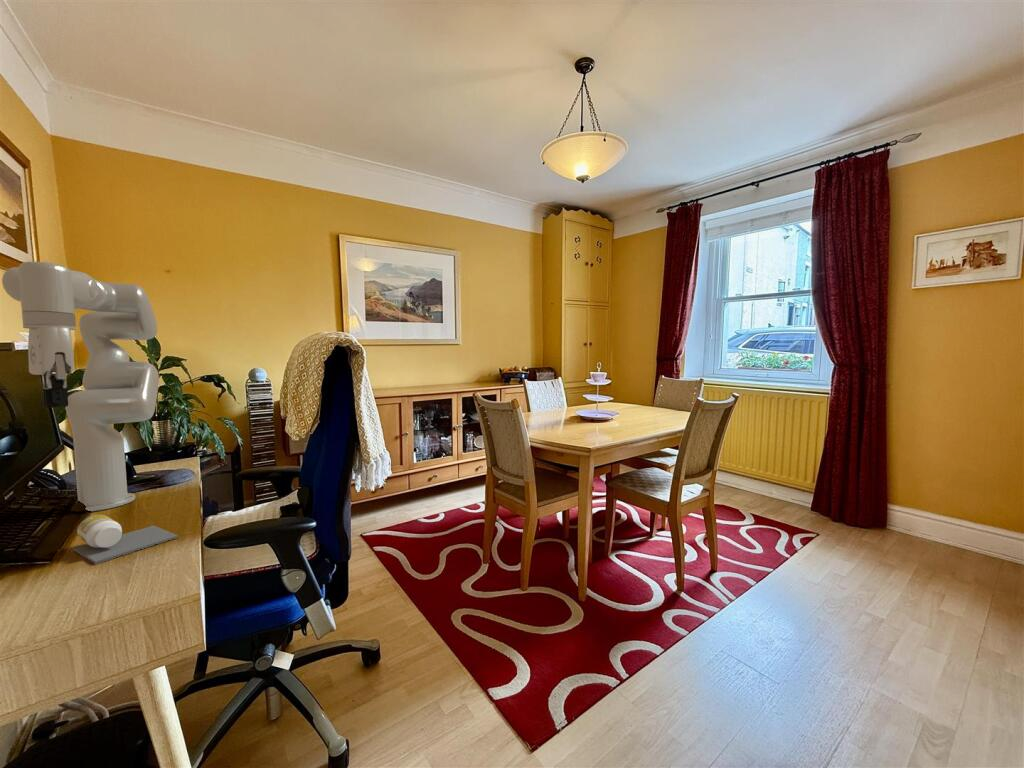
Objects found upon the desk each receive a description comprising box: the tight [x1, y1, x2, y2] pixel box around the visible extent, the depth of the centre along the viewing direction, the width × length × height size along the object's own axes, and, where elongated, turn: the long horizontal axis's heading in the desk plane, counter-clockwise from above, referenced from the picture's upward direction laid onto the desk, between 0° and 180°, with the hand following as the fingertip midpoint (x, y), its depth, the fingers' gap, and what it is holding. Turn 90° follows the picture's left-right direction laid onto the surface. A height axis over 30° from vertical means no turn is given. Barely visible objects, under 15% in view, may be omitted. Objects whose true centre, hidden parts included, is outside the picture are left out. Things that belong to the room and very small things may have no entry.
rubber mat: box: [73, 525, 179, 565], centre depth 86 cm, size 12×13×1 cm
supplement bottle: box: [76, 514, 123, 548], centre depth 84 cm, size 5×5×10 cm
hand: (56, 406), depth 88 cm, fingers closed
